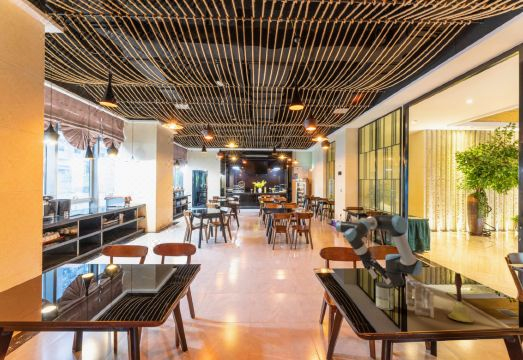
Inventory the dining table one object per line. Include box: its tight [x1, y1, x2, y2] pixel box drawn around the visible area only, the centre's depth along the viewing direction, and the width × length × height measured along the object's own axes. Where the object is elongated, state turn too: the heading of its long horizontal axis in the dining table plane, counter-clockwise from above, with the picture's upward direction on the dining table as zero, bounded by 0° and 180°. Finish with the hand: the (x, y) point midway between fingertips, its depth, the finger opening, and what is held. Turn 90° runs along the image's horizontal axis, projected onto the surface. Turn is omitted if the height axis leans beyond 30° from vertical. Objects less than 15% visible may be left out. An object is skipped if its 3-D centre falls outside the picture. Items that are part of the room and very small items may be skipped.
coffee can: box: [375, 281, 394, 311], centre depth 173 cm, size 10×10×14 cm
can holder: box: [404, 275, 435, 319], centre depth 169 cm, size 20×9×18 cm, turn 169°
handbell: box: [447, 272, 475, 323], centre depth 158 cm, size 12×12×25 cm
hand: (382, 280), depth 167 cm, fingers open, 13 cm apart
